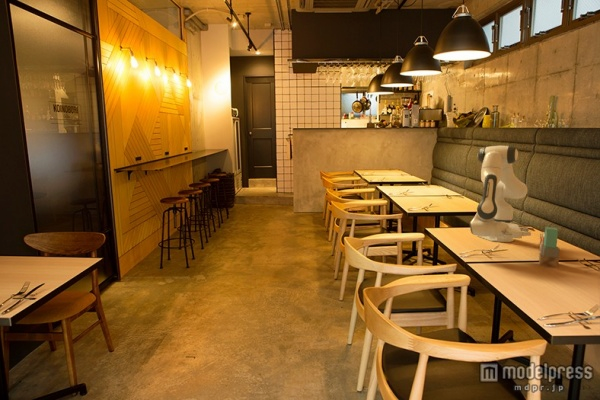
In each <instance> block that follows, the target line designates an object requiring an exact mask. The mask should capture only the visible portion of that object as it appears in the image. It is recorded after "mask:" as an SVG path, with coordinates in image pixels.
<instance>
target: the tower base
mask: <svg viewBox="0 0 600 400" xmlns="http://www.w3.org/2000/svg"><path fill="white" fill-rule="evenodd" d="M559 261H560V257H559V258H550V257H543V256H542V254H541V252H539V256H538V262H539V266H540V267H551V268H559Z"/></svg>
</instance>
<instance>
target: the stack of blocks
mask: <svg viewBox="0 0 600 400" xmlns="http://www.w3.org/2000/svg"><path fill="white" fill-rule="evenodd" d="M539 236H540V237H539V253H541V245H544V236H545V231H543V232H541V233H540V235H539Z"/></svg>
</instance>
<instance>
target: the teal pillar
mask: <svg viewBox="0 0 600 400" xmlns="http://www.w3.org/2000/svg"><path fill="white" fill-rule="evenodd" d="M544 232H545V236H544V246H545V247H547V248H556V246H557V245H558V233H559V229H558V228H557V227H550V226H545V227H544ZM557 247H558V246H557Z"/></svg>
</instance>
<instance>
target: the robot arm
mask: <svg viewBox="0 0 600 400" xmlns="http://www.w3.org/2000/svg"><path fill="white" fill-rule="evenodd" d="M518 157H519V150H518V149H517V147H516V146H514V145H491V146H490V145H489V146H483V147H480V148H479V149H478V152H477V160H478V162H479V163H480V164H481V169H480V179H481V182H482V184H483V191H482V196H481V197H482V198H481V201H480V202H479V203H478V205H477V206H476V207H477V208H476V214H475V215H474V217H473V218H472V219H471V221H469V228H470V229H469V230H470V233H471V234H472V235H473V236H475V237H476V236H477V237H479V238H482V239H485V240H487V241H490V242H500V243H501V242H502V243H511V242H514V239H522V238H523V237H527V236H528V237H530V236H532V232H531V231H530V230H529V228H528V227H523V226H519V224H516V223H514V217H513V214H514V207H513V206H512V205H511V204H510V203H508V202H507V201H506V200H505V199H514V200H515V199H516V200H517V199H524V198H525V197H526V195H527V194H528V187H527V186H528V185H527V184H525V183H524V182H522V180H520V179H518V177H517V176H516V175H515V173H514V168H513V164H514V163H516V161H517V160H518Z"/></svg>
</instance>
